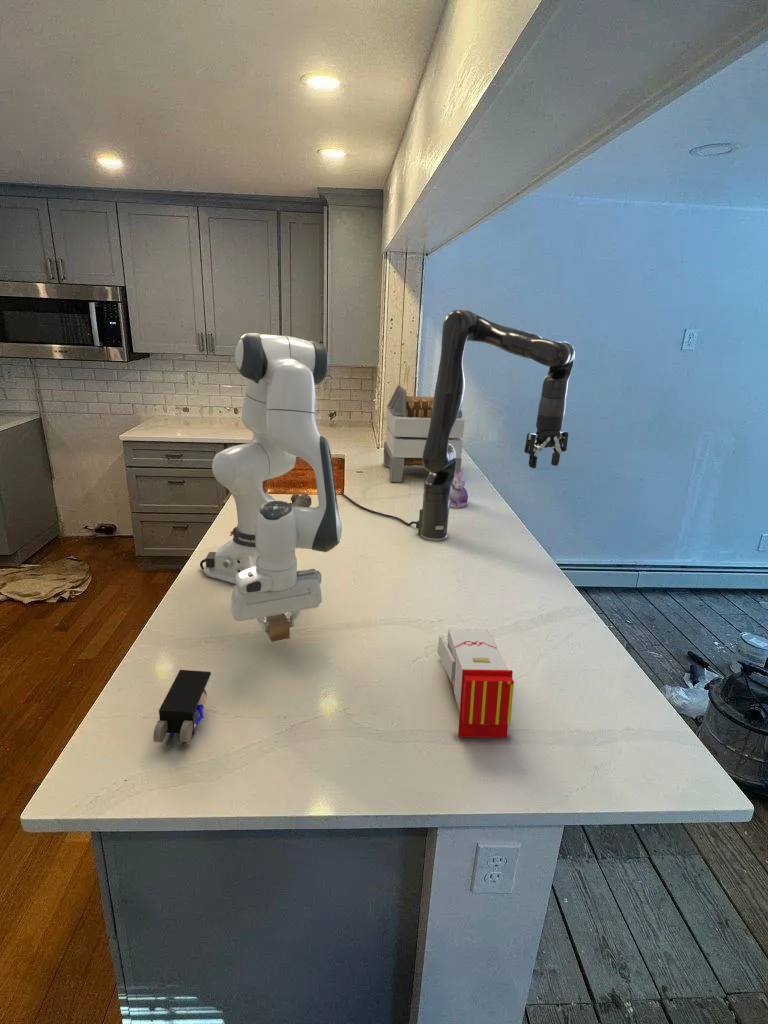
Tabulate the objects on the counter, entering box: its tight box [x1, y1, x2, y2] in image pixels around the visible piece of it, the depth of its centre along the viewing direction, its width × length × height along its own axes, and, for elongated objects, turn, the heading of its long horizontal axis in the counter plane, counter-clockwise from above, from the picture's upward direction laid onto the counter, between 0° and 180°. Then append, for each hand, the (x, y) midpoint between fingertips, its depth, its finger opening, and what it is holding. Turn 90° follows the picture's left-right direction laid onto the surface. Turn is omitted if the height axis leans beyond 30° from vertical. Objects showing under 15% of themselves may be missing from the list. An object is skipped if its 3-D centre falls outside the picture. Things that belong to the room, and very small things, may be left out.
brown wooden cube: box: [265, 613, 291, 643], centre depth 130 cm, size 4×4×4 cm
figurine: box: [449, 468, 469, 509], centre depth 230 cm, size 9×10×15 cm
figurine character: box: [152, 669, 212, 747], centre depth 104 cm, size 7×8×15 cm
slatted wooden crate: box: [383, 384, 465, 483], centre depth 268 cm, size 34×33×41 cm
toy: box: [437, 628, 515, 738], centre depth 117 cm, size 12×13×30 cm
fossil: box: [288, 493, 313, 507], centre depth 205 cm, size 22×10×15 cm
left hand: (277, 628), depth 130 cm, fingers closed on brown wooden cube, 4 cm apart
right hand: (543, 466), depth 171 cm, fingers open, 8 cm apart
